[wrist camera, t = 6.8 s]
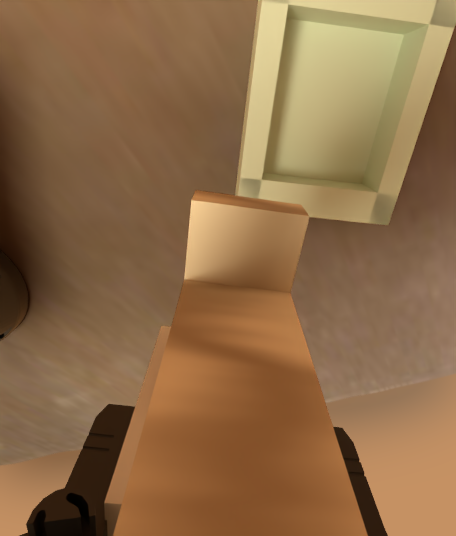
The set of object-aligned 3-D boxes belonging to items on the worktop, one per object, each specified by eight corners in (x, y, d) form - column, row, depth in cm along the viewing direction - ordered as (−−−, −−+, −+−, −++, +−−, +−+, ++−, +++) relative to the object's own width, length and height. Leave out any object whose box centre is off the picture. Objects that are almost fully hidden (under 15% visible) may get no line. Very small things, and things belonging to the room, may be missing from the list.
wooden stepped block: (177, 388, 17) (74, 908, 6) (195, 189, 12) (-63, 778, 1) (255, 396, 17) (299, 915, 6) (301, 204, 13) (746, 816, 2)
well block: (234, 196, 36) (236, 209, 32) (261, -27, 28) (268, -53, 23) (368, 211, 37) (388, 225, 32) (432, -2, 29) (470, -22, 24)
